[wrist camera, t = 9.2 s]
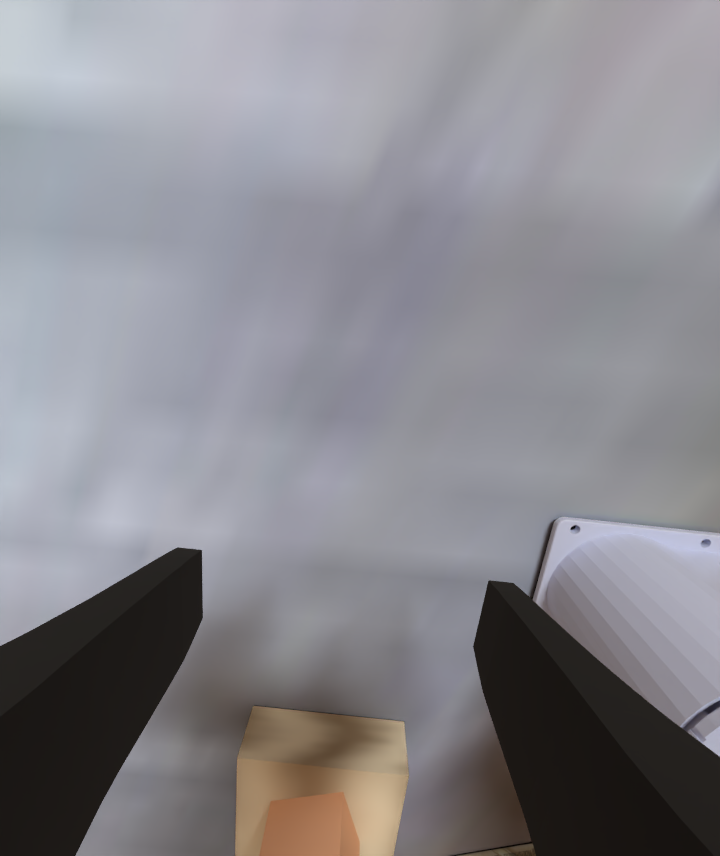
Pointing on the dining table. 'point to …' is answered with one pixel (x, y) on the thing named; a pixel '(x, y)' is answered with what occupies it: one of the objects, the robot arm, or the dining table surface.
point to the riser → (322, 772)
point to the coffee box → (507, 851)
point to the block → (310, 827)
